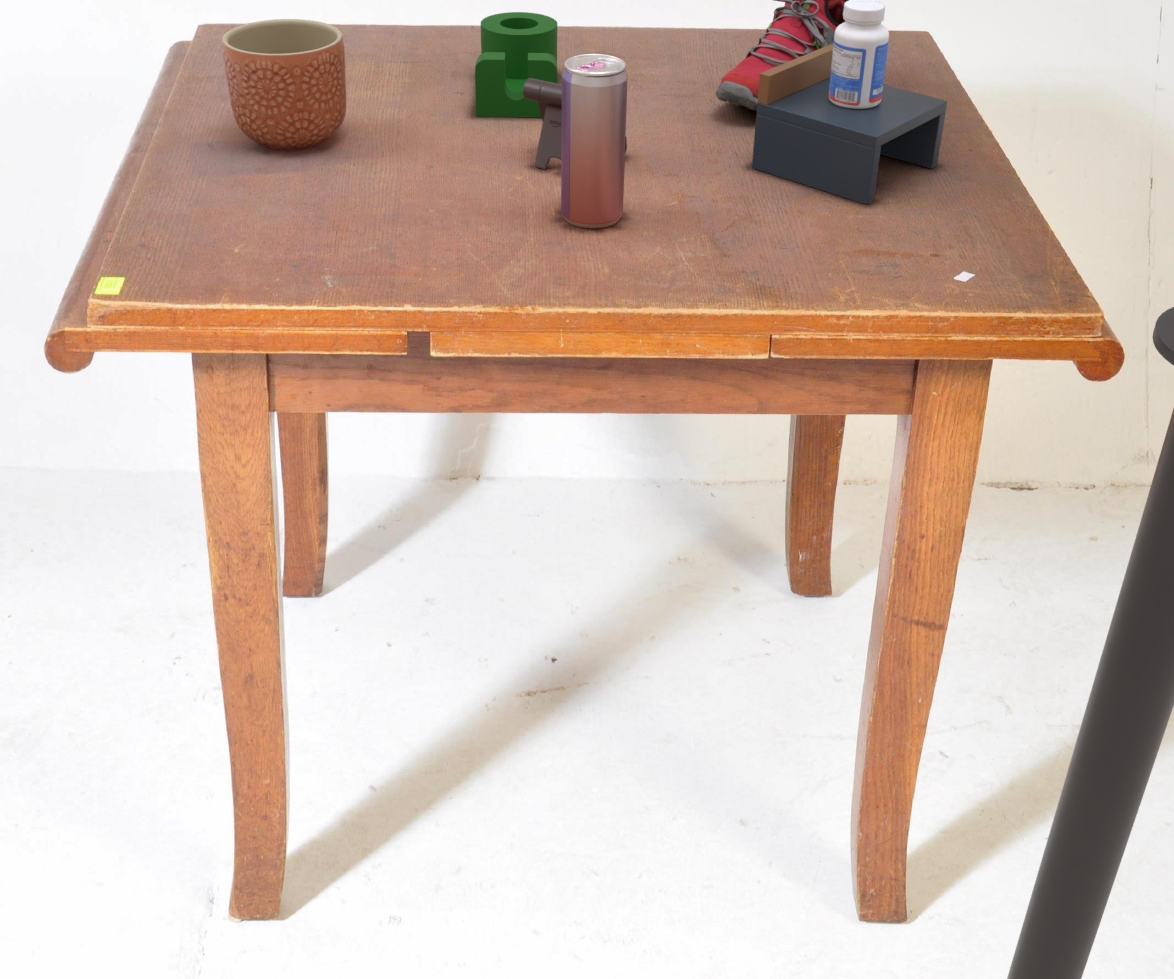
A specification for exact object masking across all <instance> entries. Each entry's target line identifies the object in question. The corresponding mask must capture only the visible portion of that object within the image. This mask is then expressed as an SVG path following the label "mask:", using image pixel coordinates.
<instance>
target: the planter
mask: <svg viewBox="0 0 1174 979" xmlns="http://www.w3.org/2000/svg"><path fill="white" fill-rule="evenodd" d="M221 37H222V38H221V51H222V52H221V53H222V58H223V64H224V70H225V76H226V82H227V88H228V95H229V100H230V106H231V110H232V115H233V117H234V120H235V122H236V124H237V126H238V128H239V130H240V131H241V132H242V133H243V134H244V135H245V136H246V137H248V138H249V139H250V140H252V141H253V142H255V143H256V144H258V145H261V146H263V147H266V148H269V149H274V150H284V151H285V150H286V151H292V150H303V149H308V148H309V149H310V148H313V147H316V146H318V145H321V144H323V143H325V142H326V141H328V140H329V139H331V138H332V137H333V136H334V135H335V134H336V133H337V132H338V131H339V130H340V128H341V127H342V125H343V123H344V121H345V117H346V113H347V112H346V111H347V87H346V86H347V85H346V84H347V83H346V55H345V52H346V51H345V40H344V36H343V33H342V31H341V30H340V29H339V28H337V27H336V26H334V25H332V24H330V23H326V22H322V21H317V20H311V19H303V18H302V19H301V18H279V19H278V18H277V19H266V20H258V21H253V22H247V23H246V24H245V23H244V24H241V25H239V26H236V27H233V28H231V29H230V30H227V32H225V33H224V34H223V36H221Z"/></svg>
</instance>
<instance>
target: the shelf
mask: <svg viewBox="0 0 1174 979" xmlns="http://www.w3.org/2000/svg"><path fill="white" fill-rule="evenodd" d="M832 54H833V44H830V45H828V46H826V47H823V48H821V49H818V50H816V51H813V52H811V53H809V54H806V55H804V56H801V57H799V58H796V59H794V60H792V61H789V62H787V63H784V64H782V65H779V66H777V67H775V68H772V69H770V70H767V71H765V72H762V73H760V79H759V90H758V101H757V102H758V103H757V111H756V116H755V126H754V136H753V147H752V148H753V149H752V160H751V169H754V170H757V171H760V172H764V173H766V174H769V175H772V176H776V177H779V178H781V179H786V180H788V181H792V182H794V183H798V184H801V185H804V186H807V187H811V188H814V189H817V190H820V191H822V192H826V193H830V194H833V195H835V196H839V197H842V198H845V199H848V200H852V201H854V202H857V203H861V204H864V205H869V204H871V203H873V202H874V200H875V193H876V185H877V178H878V172H879V171H878V170H879V163H880V156H881V155H883V156H886V157H890V158H893V159H896V160H900V161H904V162H907V163H911V164H913V165H918V166H920V167H924V168H928V169H931V170H932V169H934V168H936V167H937V166H938V161H939V155H940V150H941V143H942V136H943V133H944V132H943V131H944V127H945V126H944V124H945V120H946V112H947V107H948V101H947V100H946V99H945V100H944V99H940V98H937V97H933V96H929V95H926V94H922V93H919V92H914V91H911V90H908V89H907V90H906V89H903V88H900V87H895V86H891V85H888V84H885V83H884V84H883V92H882V99H881V102H880V103H879V104H878V105H877V106H875V107H872V108H868V109H851V108H844V107H840V106H837V105H835V104H833V103H832V102H831V101H830V100H829V85H830V75H831V64H832Z"/></svg>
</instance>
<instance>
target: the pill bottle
mask: <svg viewBox="0 0 1174 979" xmlns="http://www.w3.org/2000/svg"><path fill="white" fill-rule="evenodd" d="M885 10H886V4H884V3H883V2H881V1H878V0H849V1H846V2H845V4H844V11H843V18H844V20H845V22H844V23H842V24H840V25H839V26H838V27H837V28H836V30H835V34H834V43H833V54H832V64H831V75H830V85H829V100H830V101H831V102H832V103H833V104H835V105H837V106H840V107H844V108H851V109H868V108H872V107H875V106H877V105H878V104H879V103H880V102H881V99H882V92H883V84H884V85H885V77H886V76H885V74H886V68H887V59H888V49H889V41H890V32H889V29H888V28H887V27H886V26H885V25H883V24H882V23H883V22H884V20H885V12H886V11H885Z"/></svg>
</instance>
